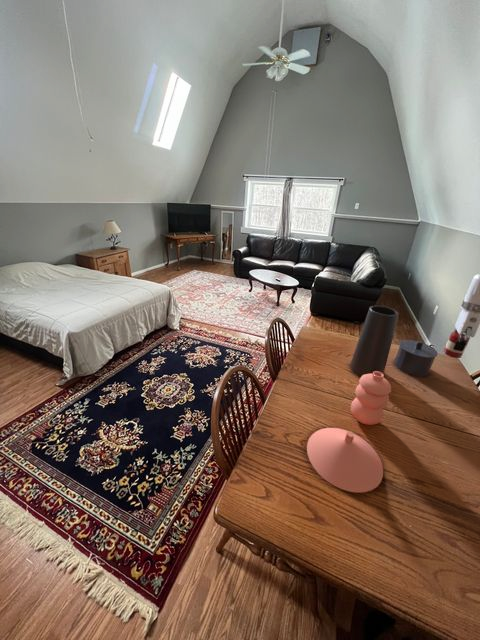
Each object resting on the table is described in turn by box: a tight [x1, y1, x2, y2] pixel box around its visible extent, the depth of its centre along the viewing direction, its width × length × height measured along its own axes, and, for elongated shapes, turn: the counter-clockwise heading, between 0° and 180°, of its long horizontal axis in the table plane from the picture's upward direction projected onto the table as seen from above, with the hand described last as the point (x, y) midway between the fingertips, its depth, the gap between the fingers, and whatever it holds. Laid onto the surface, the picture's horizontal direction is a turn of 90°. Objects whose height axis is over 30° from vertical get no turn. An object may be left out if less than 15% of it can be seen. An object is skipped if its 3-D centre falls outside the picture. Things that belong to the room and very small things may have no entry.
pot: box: [393, 346, 436, 377], centre depth 120 cm, size 14×14×10 cm
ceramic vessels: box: [306, 371, 392, 494], centre depth 79 cm, size 35×21×19 cm, turn 140°
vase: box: [349, 305, 400, 378], centre depth 112 cm, size 14×14×29 cm
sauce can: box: [443, 331, 471, 359], centre depth 111 cm, size 6×6×9 cm
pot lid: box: [398, 339, 439, 359], centre depth 118 cm, size 15×15×4 cm
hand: (456, 346), depth 111 cm, fingers closed on sauce can, 6 cm apart
